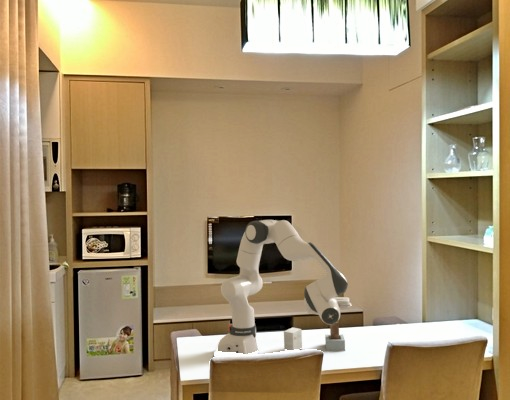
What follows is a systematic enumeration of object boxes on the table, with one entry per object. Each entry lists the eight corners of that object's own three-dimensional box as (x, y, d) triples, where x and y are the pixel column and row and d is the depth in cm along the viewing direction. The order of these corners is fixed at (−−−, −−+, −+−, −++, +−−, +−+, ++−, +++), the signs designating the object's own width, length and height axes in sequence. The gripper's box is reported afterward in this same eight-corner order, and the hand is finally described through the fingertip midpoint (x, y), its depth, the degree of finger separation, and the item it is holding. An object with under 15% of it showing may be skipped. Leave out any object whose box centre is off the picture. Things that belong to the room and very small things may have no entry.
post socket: (326, 350, 229) (326, 340, 229) (325, 344, 238) (325, 334, 238) (345, 350, 228) (344, 340, 228) (343, 344, 237) (342, 334, 237)
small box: (293, 347, 235) (292, 327, 235) (302, 349, 231) (301, 328, 231) (284, 352, 229) (283, 331, 229) (293, 354, 225) (292, 333, 225)
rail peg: (331, 346, 231) (330, 322, 231) (330, 344, 235) (330, 320, 235) (339, 346, 231) (338, 322, 231) (338, 344, 235) (338, 320, 235)
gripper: (352, 298, 198) (348, 291, 212) (304, 299, 200) (303, 291, 214) (352, 313, 198) (348, 305, 212) (304, 313, 200) (304, 305, 214)
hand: (325, 298), depth 213 cm, fingers open, 8 cm apart
